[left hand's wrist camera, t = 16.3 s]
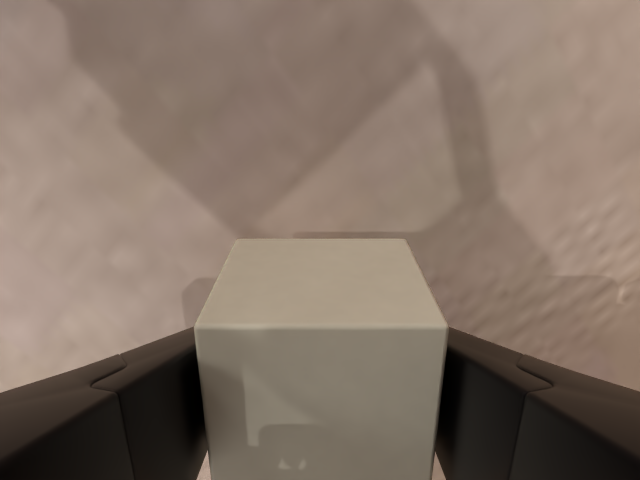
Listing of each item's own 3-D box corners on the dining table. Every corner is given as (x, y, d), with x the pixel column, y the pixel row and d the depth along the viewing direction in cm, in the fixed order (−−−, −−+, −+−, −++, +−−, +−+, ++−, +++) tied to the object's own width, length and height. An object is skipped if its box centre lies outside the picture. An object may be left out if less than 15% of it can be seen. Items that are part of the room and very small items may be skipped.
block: (235, 237, 12) (191, 325, 8) (406, 237, 12) (451, 325, 8) (245, 380, 13) (213, 514, 9) (396, 380, 13) (429, 515, 9)
